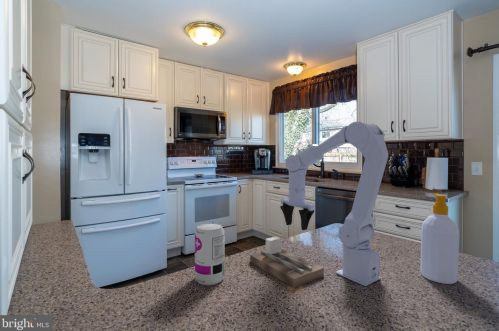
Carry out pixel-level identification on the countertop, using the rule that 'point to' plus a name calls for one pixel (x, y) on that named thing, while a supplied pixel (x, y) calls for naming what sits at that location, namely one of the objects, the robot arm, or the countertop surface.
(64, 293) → the countertop surface
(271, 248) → the block
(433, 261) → the soap bottle
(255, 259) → the tan slider track board
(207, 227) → the supplement can
